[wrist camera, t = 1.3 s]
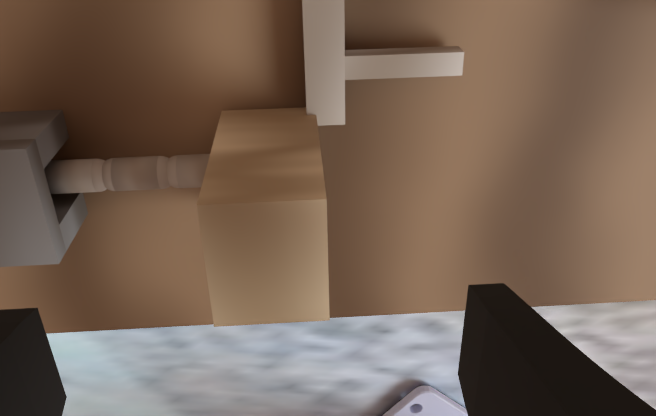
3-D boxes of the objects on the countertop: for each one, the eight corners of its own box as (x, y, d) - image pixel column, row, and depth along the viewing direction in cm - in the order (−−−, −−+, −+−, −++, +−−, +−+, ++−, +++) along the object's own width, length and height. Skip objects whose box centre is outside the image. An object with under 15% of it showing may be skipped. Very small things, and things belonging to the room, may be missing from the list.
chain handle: (468, -64, 14) (550, -33, 10) (445, 198, 18) (499, 311, 13) (-330, -42, 14) (-638, 3, 9) (-191, 228, 17) (-363, 358, 13)
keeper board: (803, -97, 16) (950, -87, 13) (682, 271, 22) (758, 349, 18) (-123, -72, 15) (-250, -54, 12) (10, 307, 21) (-46, 397, 17)
